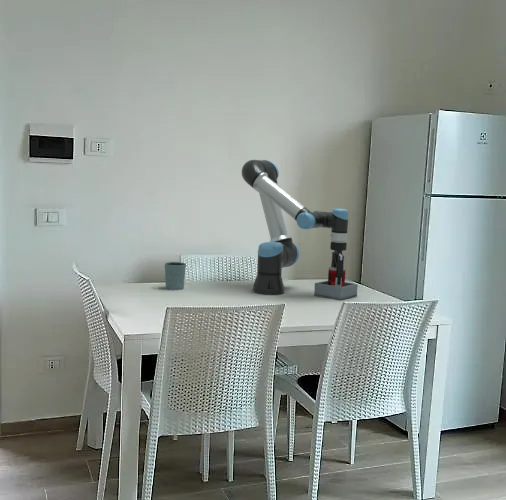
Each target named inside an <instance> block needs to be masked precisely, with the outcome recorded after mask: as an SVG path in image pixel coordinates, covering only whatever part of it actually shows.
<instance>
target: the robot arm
mask: <svg viewBox="0 0 506 500" xmlns="http://www.w3.org/2000/svg"><path fill="white" fill-rule="evenodd" d="M241 177H242V179H243V181H244V182H246V184H247V185H248V186H250V187H251V188H252V189H254V191H256V192H258V194H259V197H260V198H259V199H260V202H261V205H262V209H263V213H264V218H265V221H266V225H267V229H268V233H269V234H268V235H269V237H270V239H269V241H266V242H262V243H260V244H259V245H258V250H257V267H256V268H257V270H256V271H257V273H256V278H255V280H254V283H253V286H252V292H253V291H254V292H253V293H255V292H257V293H256V294H260V293H261V295H281V294H285V286H284V281H283V277H282V274H283V273H282V272H283V271H282V270H283V268H289V267H291V266H293V265H295V264H296V263H297V261H298V260H299V258H300V249H299V247H298V246H297V245H296V244H295V243H293V238H292V236H290V235H289V234H288V231H287V227H286V224H285V220H284V219H285V218H284V216H283V211H284V212H285V213H287V214H288V215H289V216H290V217H291V218H292V219H293V220H295V221H296V225H297V226H298V227H299V228H300V229H302V230H311V229H317V228H318V229H319V228H323V229H324V228H326V229H331V230H330V231H331V234H329V236H330V247H329V248H330V250H331V251H332V252H331V263H330V267H336V276H335V278H336V281H335V286H338V287H341V282H342V277H343V268H344V262H345V261H344V260H345V256H344V254H343V252H345V251H347V246H348V245H347V244H348V242H347V241H348V227H349V219H350V218H349V210H348V209H346V208H336V207H335V208H332V211H331V212H329V211H321V210H309V209H308V208H307V207H306V206H304V205H303V203H301V202H299V200H297V199H296V198H294V197H293V196H292V195H291V194H290V193H288V192H287V191H286V190H285V189H283V188H282V187H281V186H280V185H279V183H278V178H279V169H278V167H277V165H276V164H275V163H274V162H272V161H269V160H266V159H262V160H261V159H251V160H248V161H246V162H245V163H244V164H243V166H242V167H241Z"/></svg>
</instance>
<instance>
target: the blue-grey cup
mask: <svg viewBox="0 0 506 500" xmlns="http://www.w3.org/2000/svg"><path fill="white" fill-rule="evenodd" d="M186 266H187V263H185V262H182V261H181V262H179V261H169V262H168V261H167V262H165V263H164V272H165V273H164V274H165V276H164V277H165V279H164V280H165V289H166V290H170V291H181V290H184V289H185V277H186V269H187V267H186Z"/></svg>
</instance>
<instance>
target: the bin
mask: <svg viewBox="0 0 506 500" xmlns="http://www.w3.org/2000/svg"><path fill="white" fill-rule="evenodd" d="M358 286H359V285H358V283H353V282H347V281H345V285H344V287H338V286H332V285H328V280H324V281H319V282H314V290H313V291H314V293H313V294H314V296H315V297H320V298H325V299H331V300H336V301H343V300H348V299H353V298H356V297H355V296H357V297H358ZM352 297H353V298H352Z"/></svg>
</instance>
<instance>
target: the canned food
mask: <svg viewBox="0 0 506 500" xmlns="http://www.w3.org/2000/svg"><path fill="white" fill-rule="evenodd" d="M327 272H328V273H327V277H328V278H327V281H328V285H332V286H335V281H336V278H335V276H336V267H331V266H330V267H328V271H327ZM345 282H346V268H345V267H343V277H342V282H341V287H344V285H345Z"/></svg>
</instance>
